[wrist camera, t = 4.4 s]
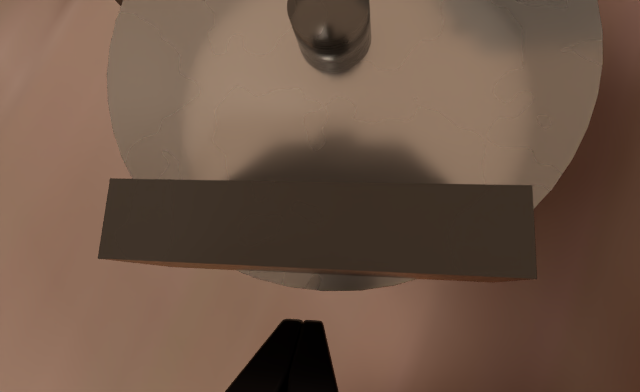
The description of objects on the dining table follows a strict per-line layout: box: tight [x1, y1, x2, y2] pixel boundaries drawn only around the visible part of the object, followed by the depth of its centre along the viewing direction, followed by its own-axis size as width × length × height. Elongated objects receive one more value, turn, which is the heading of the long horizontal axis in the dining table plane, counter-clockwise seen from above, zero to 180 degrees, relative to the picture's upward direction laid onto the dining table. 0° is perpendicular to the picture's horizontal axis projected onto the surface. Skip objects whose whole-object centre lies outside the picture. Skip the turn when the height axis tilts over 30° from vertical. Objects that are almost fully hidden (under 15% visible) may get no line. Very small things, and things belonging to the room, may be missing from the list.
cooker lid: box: [98, 0, 603, 291], centre depth 11 cm, size 14×14×4 cm
